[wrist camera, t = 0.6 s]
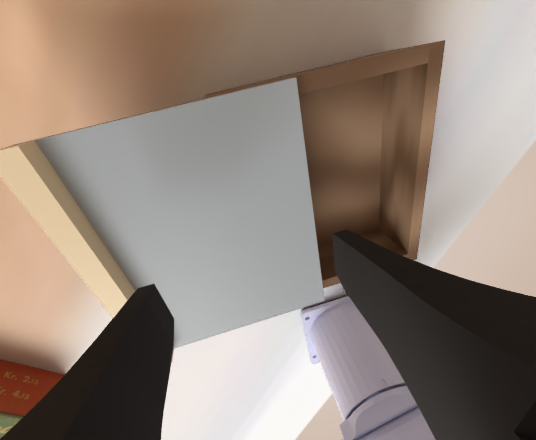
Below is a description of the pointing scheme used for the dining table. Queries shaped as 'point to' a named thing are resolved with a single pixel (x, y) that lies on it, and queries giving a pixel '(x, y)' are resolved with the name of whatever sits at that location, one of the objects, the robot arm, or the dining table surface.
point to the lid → (183, 207)
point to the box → (368, 146)
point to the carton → (21, 391)
